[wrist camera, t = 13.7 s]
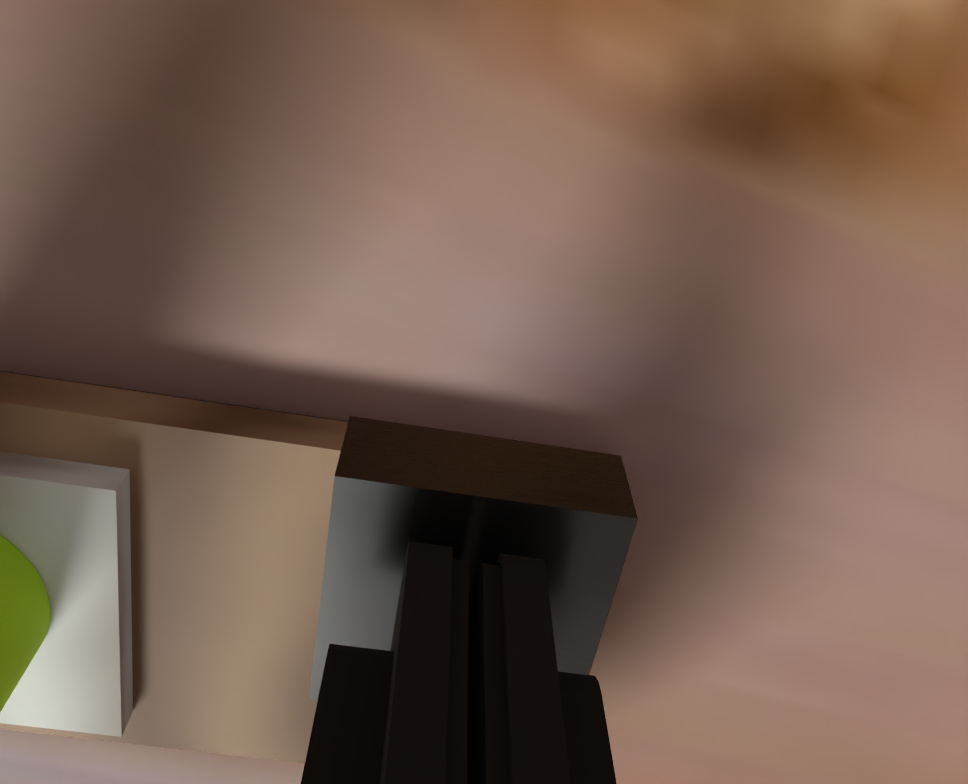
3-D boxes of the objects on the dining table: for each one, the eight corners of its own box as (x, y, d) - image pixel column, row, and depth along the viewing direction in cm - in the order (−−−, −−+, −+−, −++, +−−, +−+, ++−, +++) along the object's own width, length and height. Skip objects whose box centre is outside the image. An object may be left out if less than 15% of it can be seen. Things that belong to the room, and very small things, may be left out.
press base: (615, 460, 25) (759, 1020, 12) (532, 751, 31) (571, 1346, 18) (-283, 330, 23) (-1229, 840, 10) (-199, 666, 29) (-746, 1271, 16)
